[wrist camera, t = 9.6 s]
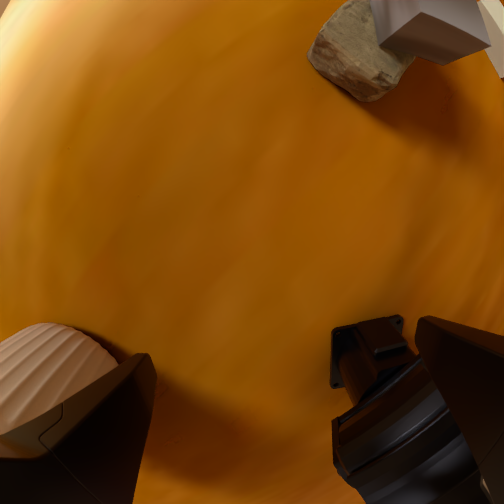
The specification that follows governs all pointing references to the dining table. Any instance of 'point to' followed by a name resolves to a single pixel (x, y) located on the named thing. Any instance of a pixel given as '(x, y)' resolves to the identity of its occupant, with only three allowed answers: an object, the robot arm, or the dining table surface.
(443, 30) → the gray cube
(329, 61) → the stone block
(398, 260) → the dining table surface
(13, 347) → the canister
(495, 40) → the beige brick
